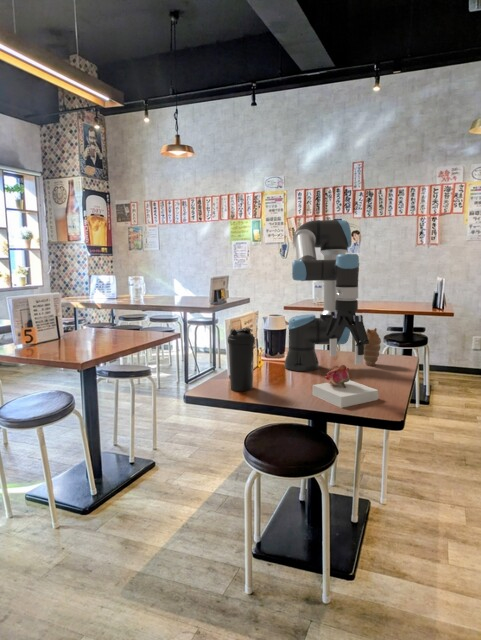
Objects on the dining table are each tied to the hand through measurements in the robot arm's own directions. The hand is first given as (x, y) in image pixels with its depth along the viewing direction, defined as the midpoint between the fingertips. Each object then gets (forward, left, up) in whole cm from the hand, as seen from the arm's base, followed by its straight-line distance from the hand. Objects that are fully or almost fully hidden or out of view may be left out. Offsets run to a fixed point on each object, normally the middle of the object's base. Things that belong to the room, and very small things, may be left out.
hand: (345, 360), depth 157 cm
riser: (0, 0, -14) cm, 14 cm away
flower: (0, 0, -10) cm, 10 cm away
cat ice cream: (-30, +39, -14) cm, 51 cm away
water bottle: (-29, -26, -14) cm, 41 cm away
